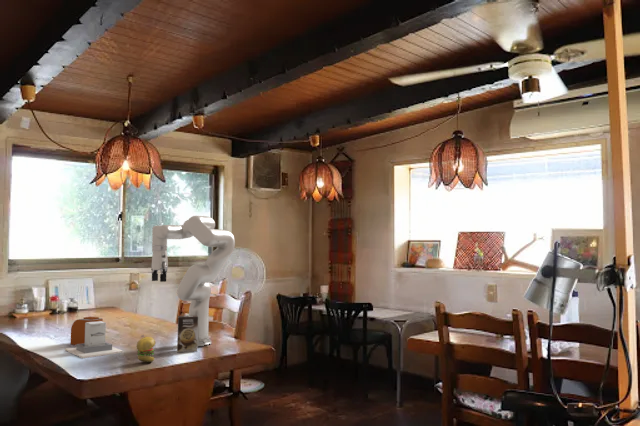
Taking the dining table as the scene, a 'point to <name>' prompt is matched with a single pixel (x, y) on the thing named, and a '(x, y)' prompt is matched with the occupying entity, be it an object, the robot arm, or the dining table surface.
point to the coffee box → (187, 333)
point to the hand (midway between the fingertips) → (158, 281)
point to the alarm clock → (81, 329)
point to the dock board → (93, 350)
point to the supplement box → (95, 333)
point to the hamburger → (145, 349)
